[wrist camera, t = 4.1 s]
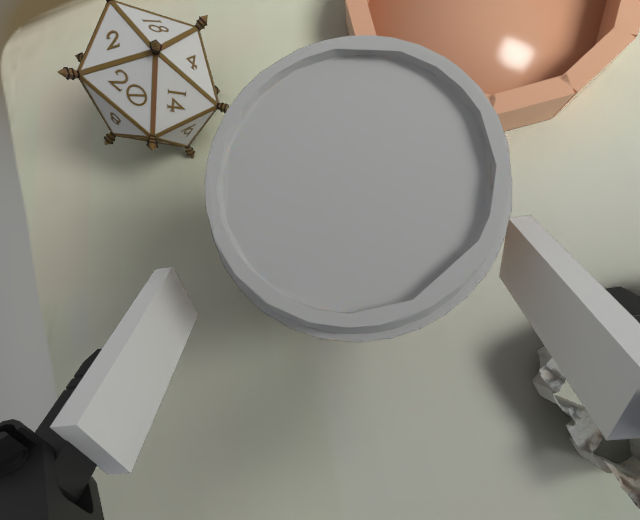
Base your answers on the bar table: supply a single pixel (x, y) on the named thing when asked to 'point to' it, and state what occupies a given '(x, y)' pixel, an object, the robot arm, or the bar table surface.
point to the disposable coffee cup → (359, 188)
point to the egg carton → (587, 428)
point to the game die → (148, 76)
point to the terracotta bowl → (511, 44)
